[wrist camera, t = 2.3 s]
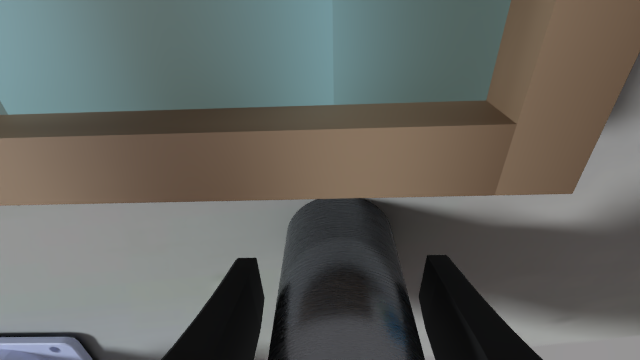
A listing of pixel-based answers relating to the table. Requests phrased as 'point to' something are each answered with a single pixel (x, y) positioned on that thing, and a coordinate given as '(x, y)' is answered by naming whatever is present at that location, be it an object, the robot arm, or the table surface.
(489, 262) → the table surface
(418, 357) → the peg
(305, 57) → the bore box
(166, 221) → the table surface
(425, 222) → the table surface
